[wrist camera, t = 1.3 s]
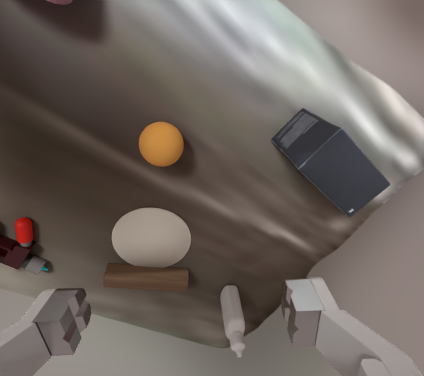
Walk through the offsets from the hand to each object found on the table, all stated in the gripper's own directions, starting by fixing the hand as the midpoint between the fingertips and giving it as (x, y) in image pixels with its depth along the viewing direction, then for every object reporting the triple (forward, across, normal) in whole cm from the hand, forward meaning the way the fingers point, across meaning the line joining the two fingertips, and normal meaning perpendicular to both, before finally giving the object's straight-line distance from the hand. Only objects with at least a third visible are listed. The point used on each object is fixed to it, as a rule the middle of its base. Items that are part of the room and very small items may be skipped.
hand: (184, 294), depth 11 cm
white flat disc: (+29, +10, +17) cm, 35 cm away
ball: (+25, +5, 0) cm, 25 cm away
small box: (+30, -15, +3) cm, 34 cm away
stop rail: (+29, +11, +24) cm, 40 cm away
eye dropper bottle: (+31, -3, +33) cm, 45 cm away
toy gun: (+28, +30, +15) cm, 43 cm away
